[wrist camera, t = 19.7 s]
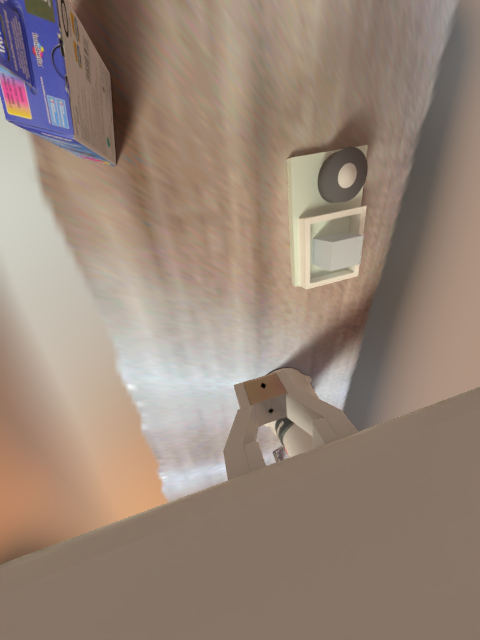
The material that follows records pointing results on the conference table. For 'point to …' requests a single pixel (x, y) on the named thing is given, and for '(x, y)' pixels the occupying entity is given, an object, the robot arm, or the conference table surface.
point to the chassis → (317, 220)
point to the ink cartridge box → (55, 78)
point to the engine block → (337, 251)
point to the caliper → (275, 456)
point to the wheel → (342, 175)
